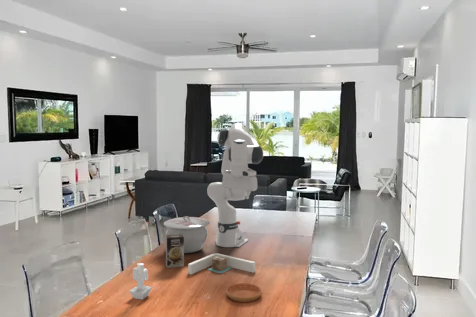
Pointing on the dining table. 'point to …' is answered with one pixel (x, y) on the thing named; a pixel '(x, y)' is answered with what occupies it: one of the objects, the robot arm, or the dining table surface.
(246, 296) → the saucer
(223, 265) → the cube
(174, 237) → the coffee box
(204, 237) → the chamber pot
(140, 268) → the figurine
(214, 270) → the pad
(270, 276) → the dining table surface
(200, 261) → the white l-shaped bracket
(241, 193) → the robot arm
